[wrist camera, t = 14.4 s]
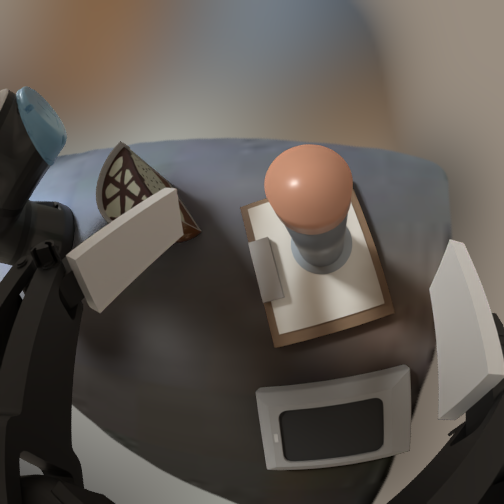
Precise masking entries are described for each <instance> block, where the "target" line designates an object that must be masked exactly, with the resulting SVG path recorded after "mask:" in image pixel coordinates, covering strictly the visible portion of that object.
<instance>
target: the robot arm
mask: <svg viewBox="0 0 504 504" xmlns="http://www.w3.org/2000/svg"><path fill="white" fill-rule="evenodd" d="M66 139H67V135H66V130H65V127H64V125H63V123H62V121H61V120H60V118H59V117H58V115H57V114H56V112H55V111H54V110H53V108H52V107H51V106H50V105H49V104H48V102H47V101H46V100H45V99H44V98H43V97H42V96H41V95H40V94H39V93H37V92H36V91H35V90H33V89H31V88H30V87H27V86H25V87H23V88H21V89H20V90H18V91H17V93H16V94H14V93H13V92H11V91H10V90H8V89H4V90H1V91H0V263H4V264H8V265H12V268H11V269H10V270H9V272H8V273H7V274H6V276H5V277H4V278H3V280H2V281H1V282H0V504H115V503H114V502H112V501H111V500H110V499H108V498H107V497H106V496H104V495H103V494H99V493H95V492H92V491H89V490H87V489H84V484H83V478H82V477H83V476H82V469H81V464H80V461H79V459H78V457H77V456H76V454H75V453H74V451H73V448H72V441H71V408H72V387H73V374H74V364H75V355H76V347H77V340H78V334H79V327H80V322H81V316H82V311H83V304H82V302H81V300H82V299H83V298H84V297H85V299H86V301H87V303H88V305H89V307H90V308H92V309H93V310H95V311H97V312H99V313H101V312H102V311H103V310H104V309H105V308H106V307H107V306H108V305H109V304H110V303H111V302H112V301H113V300H114V299H115V298H116V297H117V296H118V295H119V294H120V293H121V292H122V291H123V290H124V289H125V288H126V287H127V286H128V285H129V284H130V283H131V282H133V281H134V280H135V279H136V278H137V277H138V276H139V275H140V274H141V273H142V272H143V271H144V270H145V269H146V268H147V267H148V266H150V265H151V264H152V263H153V262H154V261H155V260H156V259H157V258H158V257H159V256H160V255H161V254H163V253H164V252H165V251H166V250H167V249H168V248H169V247H170V246H171V245H173V244H174V243H175V242H176V241H177V240H178V239H179V238H180V237H182V236H183V235H184V234H183V228H182V222H181V215H180V209H179V202H178V195H177V189H175V188H164V189H162V190H160V191H159V192H157V193H155V194H154V195H152V196H150V197H149V198H147V199H146V200H144V201H142V202H141V203H139V204H138V205H136V206H135V207H133V208H132V209H130V210H128V211H127V212H125V213H124V214H122V215H121V216H119V217H118V218H116V219H115V220H113V221H112V222H111V223H109V224H108V225H106V226H105V227H103V228H102V229H100V230H99V231H98V232H96V233H95V234H93V235H92V236H91V237H89V238H88V239H87V240H85V241H84V242H83V243H81V244H80V245H79V246H77V247H76V248H75V249H73V250H72V251H71V247H72V242H73V235H74V221H73V215H72V212H71V210H70V209H69V208H68V207H67V206H65V205H63V204H61V203H59V202H47V201H30V200H28V199H29V198H30V196H31V195H32V193H33V191H34V190H35V188H36V187H37V185H38V184H39V182H40V181H41V179H42V178H43V176H44V175H45V173H46V172H47V170H48V169H49V167H50V166H52V165H53V164H54V160H55V159H56V157H57V156H58V154H59V153H60V151H61V150H62V148H63V147H64V145H65V143H66ZM70 251H71V252H70ZM22 290H23V292H24V294H25V296H24V299H23V300H22V298H21V296H20V295H19V294H20V293H21V291H22ZM429 290H430V296H431V302H432V309H433V316H434V324H435V333H436V343H437V356H438V376H439V377H438V378H439V405H438V420H456V419H458V418H459V417H460V416H461V415H463V414H464V413H465V412H466V421H465V422H464V423H462V424H461V425H459V426H458V427H457V428H455V429H454V430H452V431H451V432H450V433H449V434H448V435H449V436H450V435H452V434H454V435H453V436H452V437H451V438H450V440H449V441H448V442H447V443H446V445H445V446H444V447H443V448H442V449H441V451H440V452H439V453H438V454H437V455H436V456H435V458H434V459H433V460H432V461H431V462H430V463H429V464H428V465H427V466H426V467H425V468H424V470H422V471H421V473H419V474H418V476H417V477H416V478H414V480H412V481H411V482H410V483H409V484H408V485H407V486H406V487H405V488H404V489H403V490H402V491H401V492H400V493H398V494H397V495H396V496H395V497H394V498H393V499H392V500H390V501H389V502H388V503H387V504H504V327H503V324H502V323H501V321H500V319H499V318H498V316H497V315H496V314H495V313H491V310H490V306H489V303H488V301H487V298H486V295H485V292H484V289H483V287H482V284H481V282H480V279H479V277H478V274H477V272H476V270H475V267H474V265H473V262H472V260H471V258H470V256H469V253H468V251H467V249H466V247H465V245H464V243H461V242H457V241H454V240H449V243H448V246H447V248H446V251H445V254H444V256H443V259H442V261H441V263H440V266H439V268H438V271H437V273H436V275H435V277H434V280H433V282H432V284H431V286H430V288H429ZM19 458H21V459H23V460H25V461H27V462H29V463H31V464H33V465H35V466H37V467H39V468H40V469H41V470H42V472H43V474H44V475H24V476H20V469H19Z"/></svg>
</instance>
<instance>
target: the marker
mask: <svg viewBox="0 0 504 504" xmlns="http://www.w3.org/2000/svg"><path fill="white" fill-rule="evenodd" d="M264 185H265V193H266V196H267V199H268V201H269V203H270V205H271V206H272V208H273V210H274V211H275V213H276V215H277V216H278V218H279V219H280V221H281V222H282V223H283V224H284V225H285V227H286V229H287V231H288V232H289V234H290V236H291V238H292V239H293V241H294V243H295V245H296V247H297V249H298V250H299V252H300V254H301V256H302V257H303V259H304V260H305V261H306V262H308V263H309V264H311V265H314V266H318V267H323V266H328V265H331V264H332V263H334V262H335V261H336V260H337V259H338V258H339V257H340V255H341V254H342V251H343V246H344V239H345V232H346V224H347V216H348V211H349V208H350V204H351V196H352V187H353V179H352V174H351V171H350V168H349V166H348V165H347V163H346V162H345V160H344V159H343V158H342V157H341V156H340V155H339V154H337V153H336V152H334V151H333V150H331V149H329V148H326V147H323V146H319V145H300V146H296V147H293V148H290V149H288V150H286V151H284V152H283V153H281V154H280V155H279V156H278V157H277V158H276V159H275V160H274V161H273V162H272V164H271V165H270V167H269V169H268V171H267V173H266V177H265V184H264Z"/></svg>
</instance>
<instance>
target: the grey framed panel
mask: <svg viewBox="0 0 504 504" xmlns="http://www.w3.org/2000/svg"><path fill="white" fill-rule="evenodd" d="M256 399H257V406H258V413H259V420H260V427H261V433H262V440H263V447H264V453H265V460H266V466H267V469H270V470H298V469H313V468H324V467H333V466H341V465H348V464H354V463H360V462H365V461H371V460H375V459H380V458H384V457H389V456H393V455H397V454H400V453H404V452H408V451H410V435H411V381H410V368H409V367H408V366H406V365H405V364H404V365H400V366H396V367H392V368H388V369H384V370H380V371H375V372H371V373H366V374H361V375H356V376H351V377H345V378H339V379H333V380H327V381H320V382H313V383H305V384H296V385H286V386H275V387H261V388H259V389H258V390H257V391H256Z"/></svg>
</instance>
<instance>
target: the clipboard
mask: <svg viewBox="0 0 504 504" xmlns="http://www.w3.org/2000/svg"><path fill="white" fill-rule="evenodd" d="M240 209H241V213H242V217H243V221H244V226H245V230H246V234H247V238H248V242H249V243H248V244H249V248H250V252H251V257H252V261H253V265H254V269H255V273H256V277H257V281H258V285H259V289H260V293H261V297H262V301H263V303H264V307H265V311H266V315H267V319H268V323H269V327H270V331H271V336H272V340H273V344H274V348H277V347H281V346H286V345H290V344H294V343H298V342H302V341H306V340H309V339H313V338H317V337H321V336H324V335H328V334H331V333H335V332H338V331H341V330H345V329H348V328H351V327H354V326H358V325H361V324H364V323H367V322H370V321H373V320H376V319H379V318H382V317H385V316H387V315H390V314H393V313H395V311H394V307H393V303H392V299H391V296H390V292H389V289H388V285H387V282H386V278H385V275H384V272H383V269H382V265H381V262H380V259H379V256H378V253H377V250H376V247H375V244H374V241H373V239H372V236H371V233H370V230H369V228H368V225H367V222H366V220H365V217H364V214H363V212H362V209H361V207H360V204H359V202H358V199H357V197H356V194H355V192H354V190H353V187H352V196H351V204H350V208H349V211H348V216H347V224H346V232H345V239H344V246H343V251H342V254H341V255H340V257H339V258H338V259H337V260H336V261H335V262H334V263H332V264H331V265H328V266H323V267H318V266H314V265H311V264H309V263H308V262H306V261H305V260H304V259H303V257H302V256H301V254H300V252H299V250H298V249H297V247H296V245H295V243H294V241H293V239H292V238H291V236H290V234H289V232H288V231H287V229H286V227H285V225H284V224H283V223H282V222H281V221H280V219H279V218H278V216H277V215H276V213H275V211H274V210H273V208H272V206H271V205H270V203H269V201H268V199H267V198H266V199H263V200H260V201H257V202H254V203H251V204H248V205H246V206H243V207H240Z"/></svg>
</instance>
